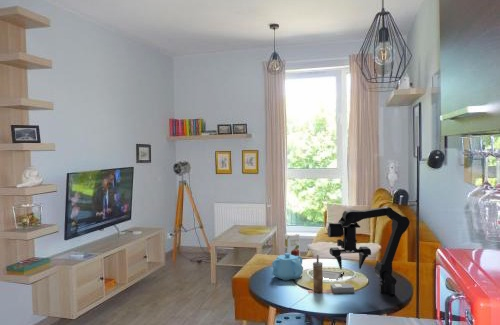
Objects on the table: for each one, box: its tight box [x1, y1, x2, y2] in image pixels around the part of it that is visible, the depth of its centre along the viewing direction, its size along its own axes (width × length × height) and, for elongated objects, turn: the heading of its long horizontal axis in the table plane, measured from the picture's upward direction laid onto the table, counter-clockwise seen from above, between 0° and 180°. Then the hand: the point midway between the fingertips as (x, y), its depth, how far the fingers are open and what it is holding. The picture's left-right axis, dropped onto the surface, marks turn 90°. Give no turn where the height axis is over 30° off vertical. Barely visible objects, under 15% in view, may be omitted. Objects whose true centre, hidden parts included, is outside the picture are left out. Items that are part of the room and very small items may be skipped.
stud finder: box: [330, 282, 355, 294], centre depth 192 cm, size 10×6×3 cm, turn 93°
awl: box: [312, 254, 324, 294], centre depth 192 cm, size 4×4×18 cm
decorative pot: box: [271, 252, 304, 282], centre depth 218 cm, size 16×16×14 cm
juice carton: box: [283, 232, 301, 261], centre depth 244 cm, size 8×9×19 cm
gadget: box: [309, 270, 342, 281], centre depth 218 cm, size 23×15×4 cm, turn 156°
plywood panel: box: [306, 289, 334, 294], centre depth 187 cm, size 22×16×1 cm
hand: (350, 269), depth 188 cm, fingers open, 9 cm apart
